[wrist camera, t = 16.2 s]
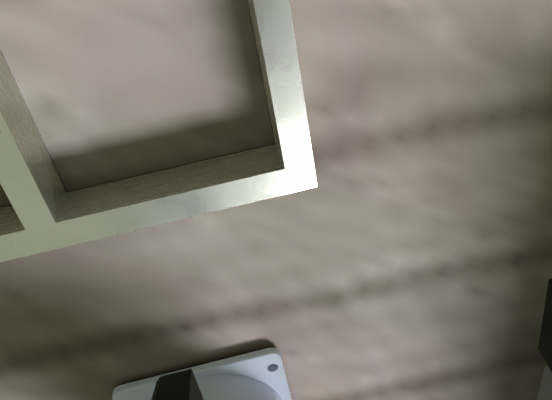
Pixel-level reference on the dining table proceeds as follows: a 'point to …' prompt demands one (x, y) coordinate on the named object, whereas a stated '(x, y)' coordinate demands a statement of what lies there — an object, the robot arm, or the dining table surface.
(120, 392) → the robot arm
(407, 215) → the dining table surface
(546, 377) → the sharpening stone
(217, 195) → the rack
